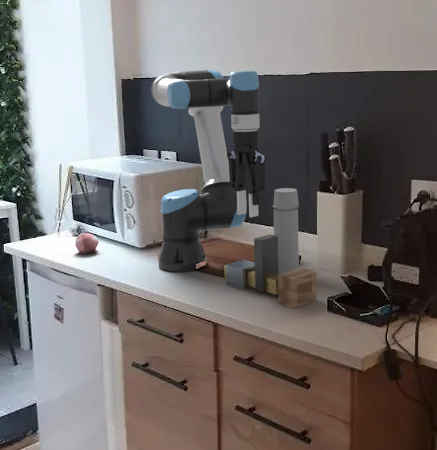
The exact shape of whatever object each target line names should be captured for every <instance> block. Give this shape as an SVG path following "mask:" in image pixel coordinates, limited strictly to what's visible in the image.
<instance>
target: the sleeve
mask: <svg viewBox="0 0 437 450" xmlns="http://www.w3.org/2000/svg"><path fill="white" fill-rule="evenodd" d="M225 265H226V276H227V279H226V285H227V286H230V287H233V288H237V289H239V290H242V291H245V290H248V289H251V288H252V287H250V286H247V285H246V272H245V271H247V270H251V269H254V268H255V261H250V260H246V259H240V260H237V261H233V262H229V263H227V264H225Z"/></svg>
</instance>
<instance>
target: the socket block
mask: <svg viewBox="0 0 437 450" xmlns="http://www.w3.org/2000/svg"><path fill="white" fill-rule="evenodd" d="M278 282H279V294H278V304H279V305H282V306H284V307H288V308H290V309H294V308H297V307H299V306H303V305H306V304H308V303H311V302H314V301H317V300H318V299H317V271H316V270H312V269H309V268H305V267H300V268H299V269H296V270H293V271H290V272H287V273H283V274H280V275H278Z"/></svg>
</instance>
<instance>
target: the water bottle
mask: <svg viewBox="0 0 437 450" xmlns="http://www.w3.org/2000/svg"><path fill="white" fill-rule="evenodd" d="M299 204H300V203H299V197H298V190H297V189H296V188H294V187H293V188H292V187H291V188H290V187H289V188H288V187H285V188H283V187H282V188H276V189H274V195H273V205H272V206H271V207H272V208H273V235H275V236H278V272H279V275H280V274H283V273H287V272H290V271H293V270H296V269H300V268H299V267H300V266H299V265H300V263H299V262H300V261H299V259H300V257H299V253H300V252H299V208H300V205H299Z"/></svg>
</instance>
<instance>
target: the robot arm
mask: <svg viewBox="0 0 437 450" xmlns="http://www.w3.org/2000/svg"><path fill="white" fill-rule="evenodd" d="M258 74H259V73H257V71H256V70H242V71H241V70H240V71H232V72H231V73H230V74H229V77H226V78H224V77H223V74H222V73H220V72H219V71H218V70H214V69H213V70H209V69H204V70H190V71H189V70H185V71H183V70H182V71H181V70H180V71H179V70H178V71H171V72H167V73H164V74H161V75H160V76H158V77H157V78H155V80H154V81H153V82H152V85H151V89H150V91H151V96H152V99H153V100H154V101H155V102H156V104H159V106H163V107H168V108H171V109H173V110H174V109H179V110H181V109H183V110H184V109H187V112H188V114H189V115H190V116H191V117H193V119H194V124H195V125H194V126H195V130H196V131H195V132H196V137H197V143H198V150H199V157H200V162H201V168H202V173H203V180H204V185H203V186H202V188H201V193H199V192H198V189H196V188H195V189H194V188H188V189H187V188H186V189H180V190H175V191H171V192H168V193H167V194H165V195H163V196H162V197H161V199H160V214H161V215H160V216H161V229H162V230H161V231H162V234H161V235H162V244H161V248H160V251H159V257H158V267H159V269H160V270H163V271H166V272H175V273H177V272H180V273H182V272H191V271H197V270H196V264H198V263H200V262H203V261H205V260H206V259H207V255H206V253H205V249H204V247H203V244H202V241H201V232H203V231H204V232H205V231H215V230H224V229H225V230H226V229H228V230H230V229H232V228H239V227H241V226H242V225H244V222H245V219H246V216H247V210H248V214H249V218H255V217H258V216H259V205H260V193H261V192H265V190H266V162H267V155H266V154H262V153H260V150H259V147H258V146H259V145H260V143H261V141H260V140H261V139H260V138H261V135H260V133H261V132H260V131H259V129H260V127H261V126H260V100H259V99H260V96H259V95H260V94H259V93H260V91H259V89H260V88H259V87H260V82H259V75H258ZM224 107H230V116H231V117H230V119H231V122H230V123H231V129H232V131H231V144H232V145H233V146H234V147H233V150H232V151H227V145H226V140H225V134H224V128H223V122H222V118H221V117H222V116H221V112H222V111H223V110H224ZM246 171H247V176H248V185H249V187H250V189H249V190H250V191H249V192H248V204H247V191H246V187H245V180H246ZM247 205H248V207H247ZM247 208H248V209H247ZM207 260H208V259H207Z"/></svg>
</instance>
